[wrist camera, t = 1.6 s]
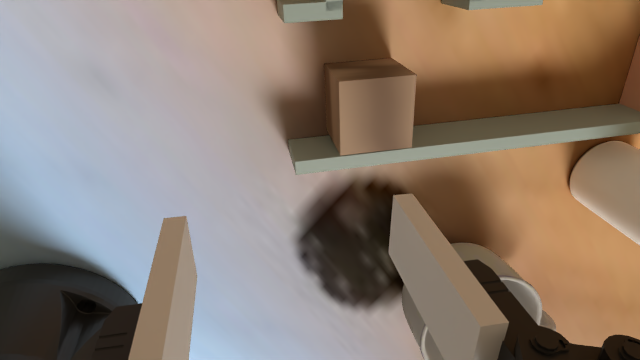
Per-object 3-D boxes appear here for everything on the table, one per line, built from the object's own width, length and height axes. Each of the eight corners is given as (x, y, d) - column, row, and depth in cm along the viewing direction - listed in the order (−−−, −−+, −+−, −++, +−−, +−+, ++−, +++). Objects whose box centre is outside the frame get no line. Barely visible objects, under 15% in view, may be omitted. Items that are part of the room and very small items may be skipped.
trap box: (289, 151, 33) (296, 174, 30) (266, -123, 25) (272, -135, 22) (625, 113, 37) (666, 130, 34) (702, -133, 29) (766, -145, 26)
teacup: (370, 297, 42) (397, 365, 35) (431, 209, 39) (476, 266, 32) (474, 329, 47) (516, 394, 40) (537, 254, 44) (595, 311, 37)
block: (326, 128, 33) (340, 155, 29) (323, 63, 31) (339, 81, 26) (388, 122, 34) (411, 147, 29) (391, 57, 31) (416, 74, 27)
